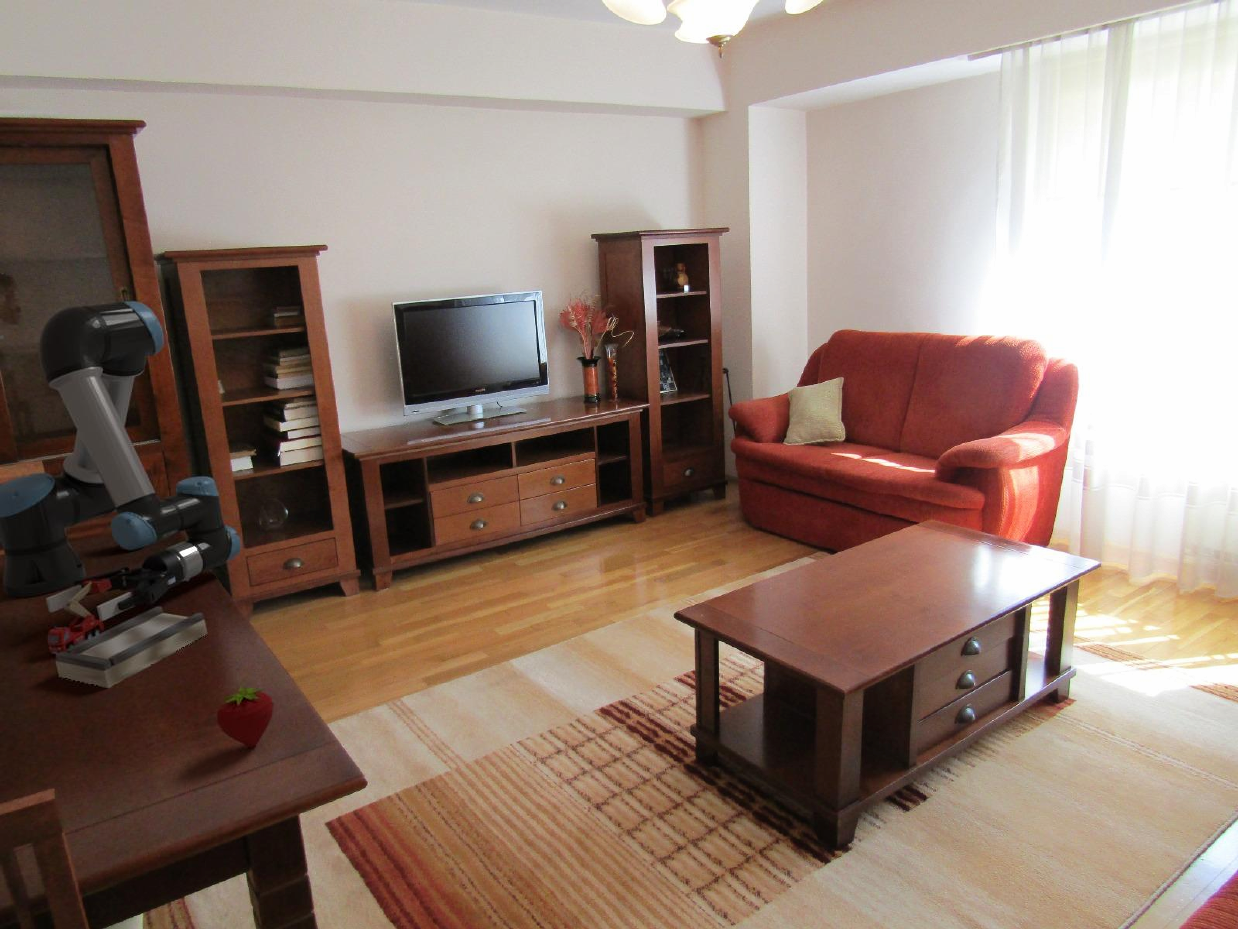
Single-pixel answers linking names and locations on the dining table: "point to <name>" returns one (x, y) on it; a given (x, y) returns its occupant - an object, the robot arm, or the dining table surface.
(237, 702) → the strawberry
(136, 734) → the dining table surface
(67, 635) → the toy fire truck
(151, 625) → the dock
